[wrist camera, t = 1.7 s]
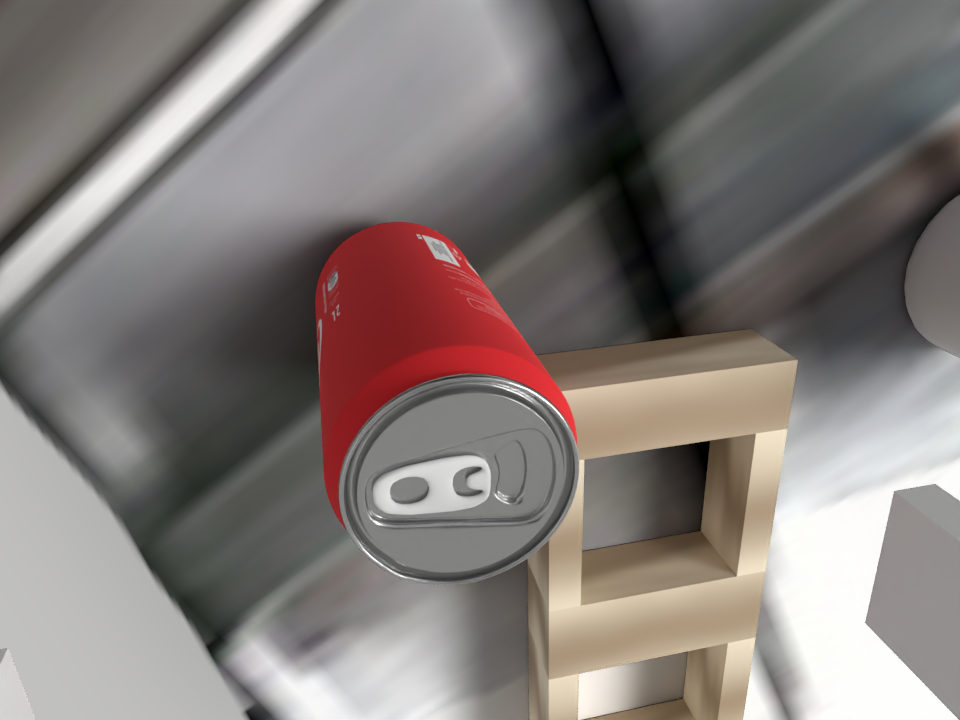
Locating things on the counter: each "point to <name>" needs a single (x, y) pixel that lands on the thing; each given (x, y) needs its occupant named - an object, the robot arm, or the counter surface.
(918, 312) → the cup
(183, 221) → the counter surface
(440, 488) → the beverage can
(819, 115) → the counter surface
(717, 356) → the tan rectangular open frame
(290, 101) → the counter surface
